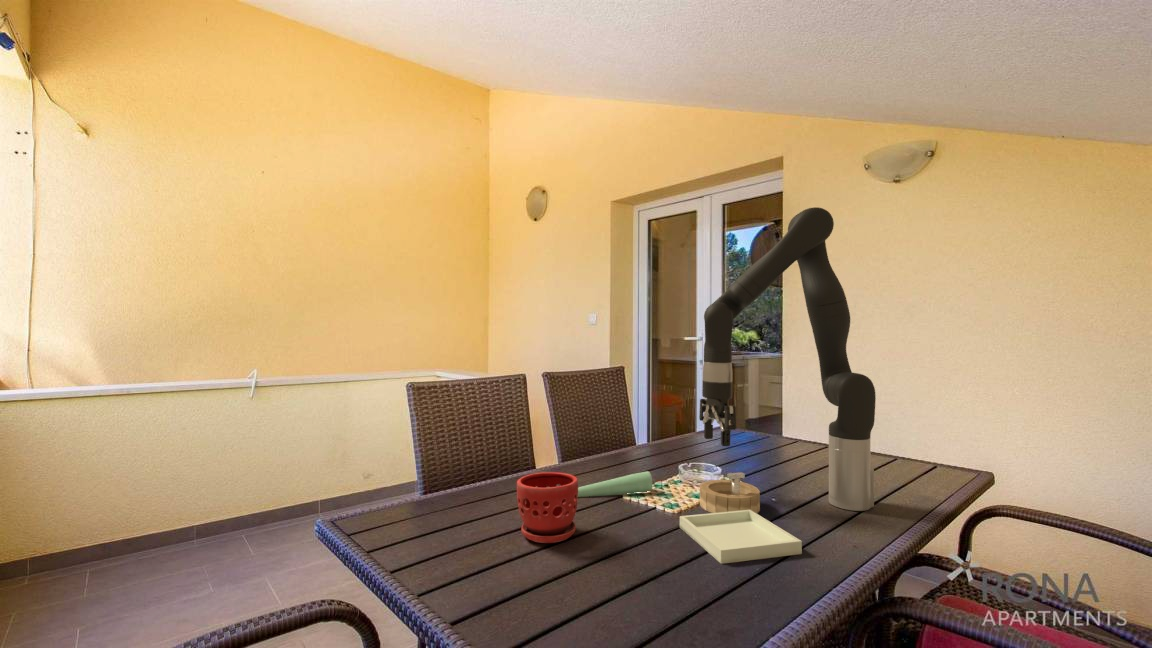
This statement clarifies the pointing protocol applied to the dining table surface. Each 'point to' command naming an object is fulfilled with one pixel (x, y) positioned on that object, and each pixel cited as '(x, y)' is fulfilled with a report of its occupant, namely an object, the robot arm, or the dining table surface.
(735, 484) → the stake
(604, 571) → the dining table surface
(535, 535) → the plant pot
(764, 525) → the tray
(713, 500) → the wooden ring
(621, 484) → the mint green cone
